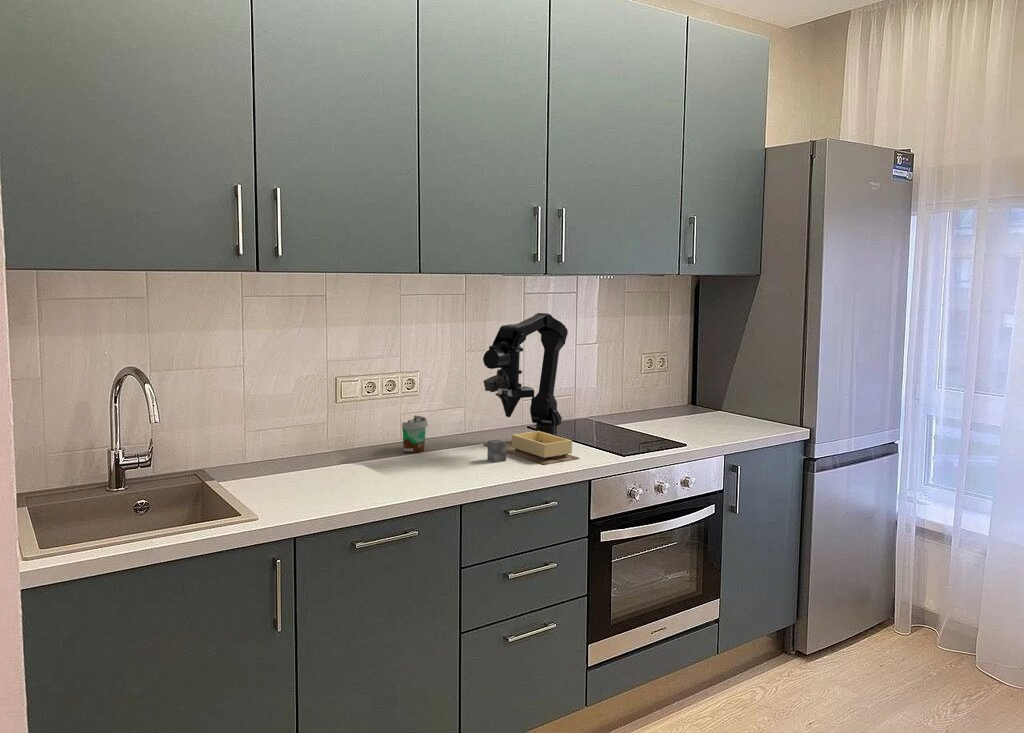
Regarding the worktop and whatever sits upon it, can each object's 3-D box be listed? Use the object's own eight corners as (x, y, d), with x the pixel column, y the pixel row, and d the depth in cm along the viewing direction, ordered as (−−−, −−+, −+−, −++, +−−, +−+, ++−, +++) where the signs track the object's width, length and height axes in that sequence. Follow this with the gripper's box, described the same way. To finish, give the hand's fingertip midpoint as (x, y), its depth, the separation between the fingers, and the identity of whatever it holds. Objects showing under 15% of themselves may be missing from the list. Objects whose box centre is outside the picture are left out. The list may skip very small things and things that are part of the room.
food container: (421, 455, 257) (421, 423, 255) (401, 454, 258) (401, 422, 257) (432, 447, 269) (432, 416, 267) (414, 445, 270) (414, 415, 269)
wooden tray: (538, 446, 269) (538, 430, 269) (571, 456, 256) (572, 440, 255) (511, 450, 263) (511, 434, 262) (544, 461, 250) (544, 444, 249)
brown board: (517, 439, 281) (517, 438, 281) (579, 458, 256) (579, 457, 256) (482, 444, 273) (482, 443, 273) (543, 465, 247) (543, 464, 247)
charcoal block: (498, 458, 255) (498, 439, 254) (506, 461, 252) (506, 441, 251) (487, 460, 252) (487, 440, 252) (495, 462, 249) (495, 443, 248)
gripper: (471, 364, 260) (469, 414, 261) (505, 370, 245) (504, 423, 246) (500, 363, 266) (499, 411, 268) (536, 369, 251) (534, 421, 253)
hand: (508, 416), depth 258 cm, fingers closed
